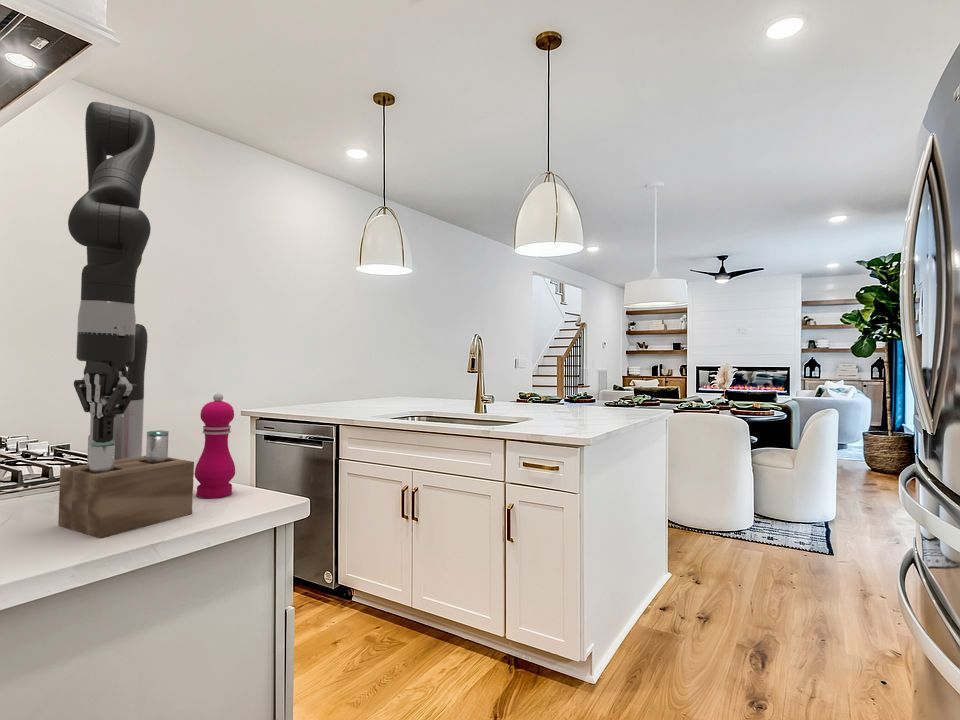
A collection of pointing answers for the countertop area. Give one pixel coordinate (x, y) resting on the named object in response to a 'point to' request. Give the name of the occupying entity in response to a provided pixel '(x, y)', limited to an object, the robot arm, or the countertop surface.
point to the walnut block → (124, 495)
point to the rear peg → (157, 447)
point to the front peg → (102, 456)
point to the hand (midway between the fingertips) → (102, 441)
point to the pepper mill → (215, 450)
